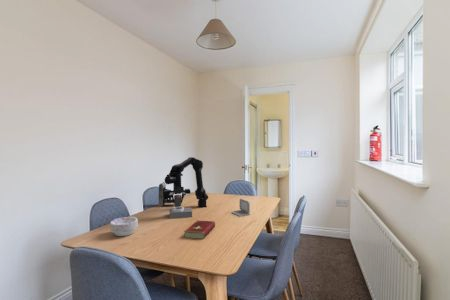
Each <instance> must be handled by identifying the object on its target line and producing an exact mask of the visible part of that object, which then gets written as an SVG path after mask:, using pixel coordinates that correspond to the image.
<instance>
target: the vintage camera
mask: <svg viewBox="0 0 450 300" xmlns="http://www.w3.org/2000/svg"><path fill="white" fill-rule="evenodd" d="M166 185H167V184H166V183H165V181H164V182H163V181H162V183H159V185H158V207H163V206H164V205H165V204H171V203H173V200H172V198H171V196H169V195H164V191H165V190H170V191H172V190H171V189H168V188H166V187H167V186H166ZM174 195H175V194H174V193H173V196H174ZM173 204H174V203H173Z"/></svg>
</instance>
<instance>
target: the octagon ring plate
mask: <svg viewBox="0 0 450 300" xmlns="http://www.w3.org/2000/svg"><path fill="white" fill-rule="evenodd" d="M192 217H193V210H192V207H183V206H180V207H171V208H169V220H170V219H180V218H181V219H183V218H192Z"/></svg>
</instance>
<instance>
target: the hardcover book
mask: <svg viewBox="0 0 450 300" xmlns="http://www.w3.org/2000/svg"><path fill="white" fill-rule="evenodd" d="M215 227H216V222H215V220H199V219H198V220H196V221H194V222H193V223H192V224H191V225H190V226H188V227H187V228H186V229H185V230H184V231H183V232H184V238H189V239H191V238H192V239H200V240H201V239H202V240H205V238H207V236H208V235H209V234H210V233H211V232H212V231H213V230H214V228H215Z"/></svg>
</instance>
